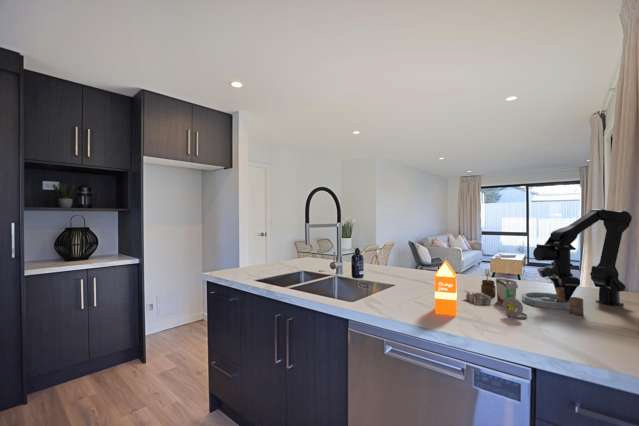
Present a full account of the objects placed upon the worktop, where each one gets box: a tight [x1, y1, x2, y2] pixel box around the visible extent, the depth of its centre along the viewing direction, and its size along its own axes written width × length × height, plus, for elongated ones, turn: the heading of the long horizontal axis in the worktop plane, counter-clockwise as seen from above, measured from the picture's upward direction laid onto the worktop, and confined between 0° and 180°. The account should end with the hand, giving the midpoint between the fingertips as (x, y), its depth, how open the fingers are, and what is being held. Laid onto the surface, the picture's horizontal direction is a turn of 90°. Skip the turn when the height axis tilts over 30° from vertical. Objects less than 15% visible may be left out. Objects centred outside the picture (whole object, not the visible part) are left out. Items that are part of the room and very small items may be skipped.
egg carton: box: [464, 290, 492, 306], centre depth 136 cm, size 11×8×4 cm
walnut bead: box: [569, 296, 584, 317], centre depth 118 cm, size 4×4×6 cm
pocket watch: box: [502, 291, 528, 319], centre depth 115 cm, size 8×8×10 cm
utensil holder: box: [480, 268, 497, 298], centre depth 146 cm, size 6×6×12 cm
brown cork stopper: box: [555, 287, 568, 303], centre depth 131 cm, size 4×4×6 cm
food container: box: [495, 278, 519, 308], centre depth 131 cm, size 12×6×10 cm, turn 168°
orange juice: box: [434, 259, 458, 317], centre depth 123 cm, size 8×9×20 cm
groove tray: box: [521, 291, 570, 310], centre depth 133 cm, size 18×18×2 cm
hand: (562, 297), depth 131 cm, fingers open, 9 cm apart
